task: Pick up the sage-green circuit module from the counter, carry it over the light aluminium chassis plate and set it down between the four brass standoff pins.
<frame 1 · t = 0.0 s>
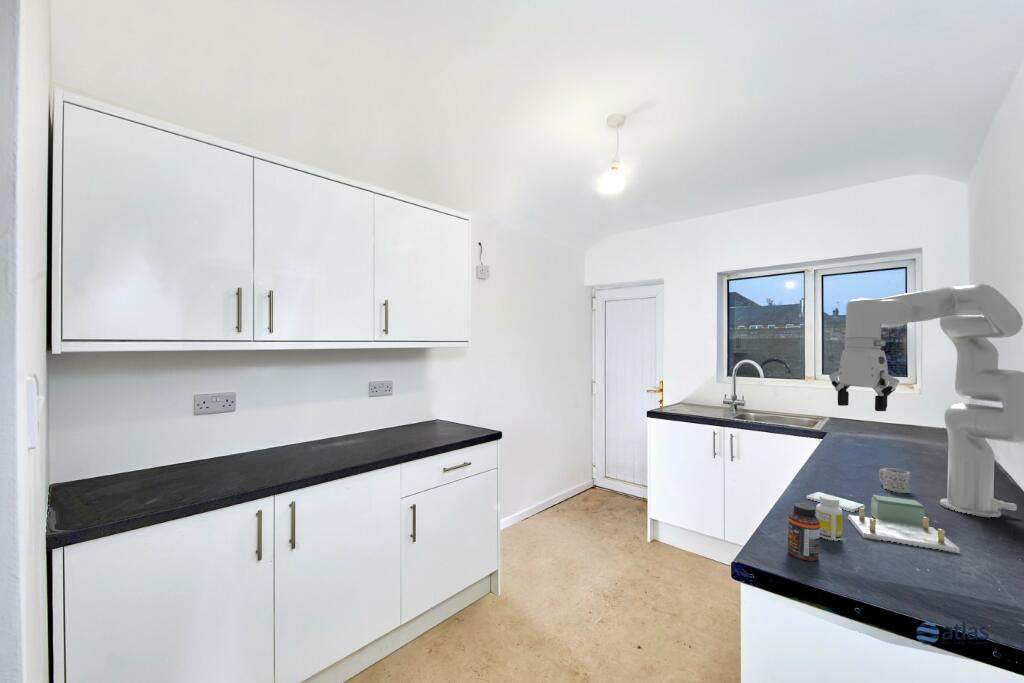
hand: (861, 408, 118), 31 cm above the table, tool pointing down, fingers open, 9 cm apart
mug: (891, 489, 149), on the table
module: (896, 521, 120), on the table
chassis: (899, 534, 111), on the table
supplement bottle: (802, 556, 99), on the table
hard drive: (834, 505, 133), on the table
supplement bottle 2: (828, 537, 109), on the table
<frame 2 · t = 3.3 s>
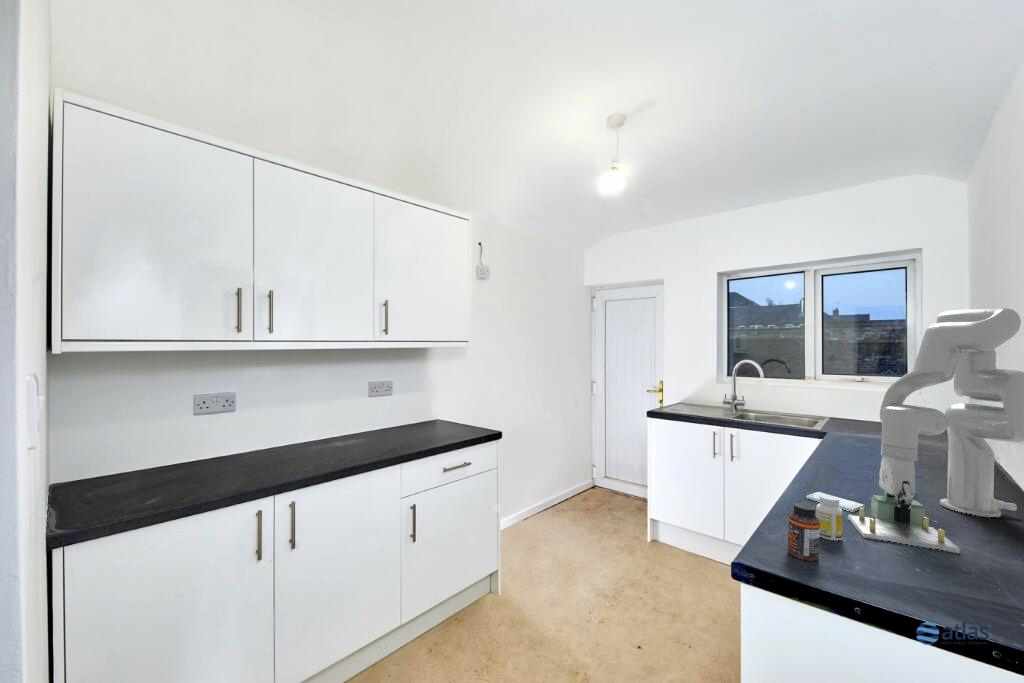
hand: (896, 517, 120), 1 cm above the table, tool pointing down, fingers open, 6 cm apart
module: (896, 522, 120), on the table, touching gripper
everything else where it was.
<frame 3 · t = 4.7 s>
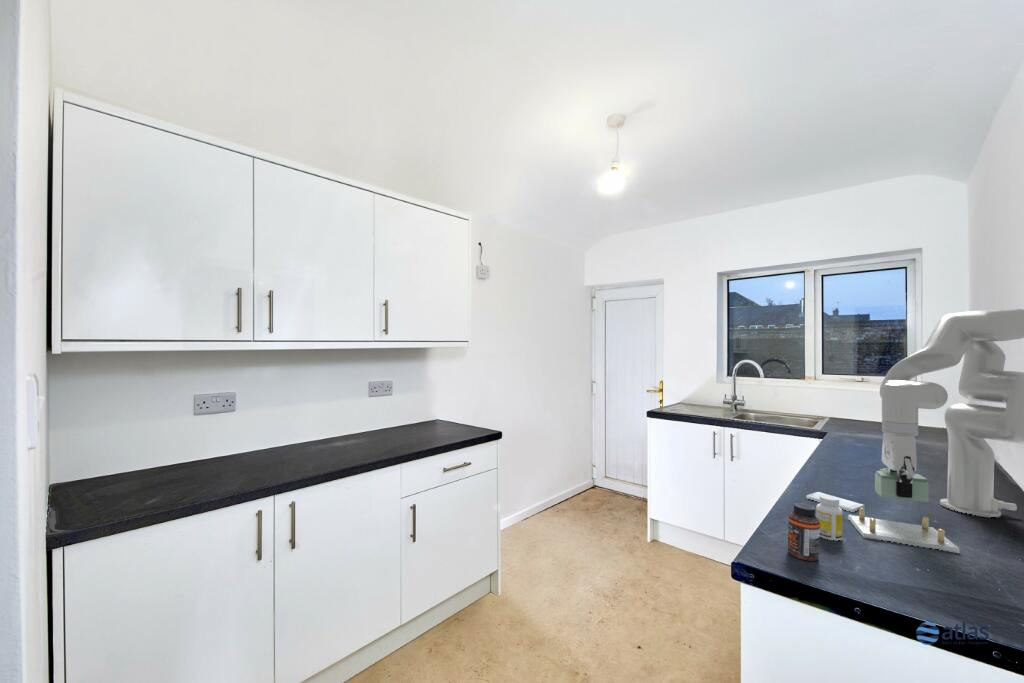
hand: (899, 492, 121), 8 cm above the table, tool pointing down, fingers closed on module, 5 cm apart
module: (901, 496, 121), point 7 cm above the table, touching gripper
everything else where it was.
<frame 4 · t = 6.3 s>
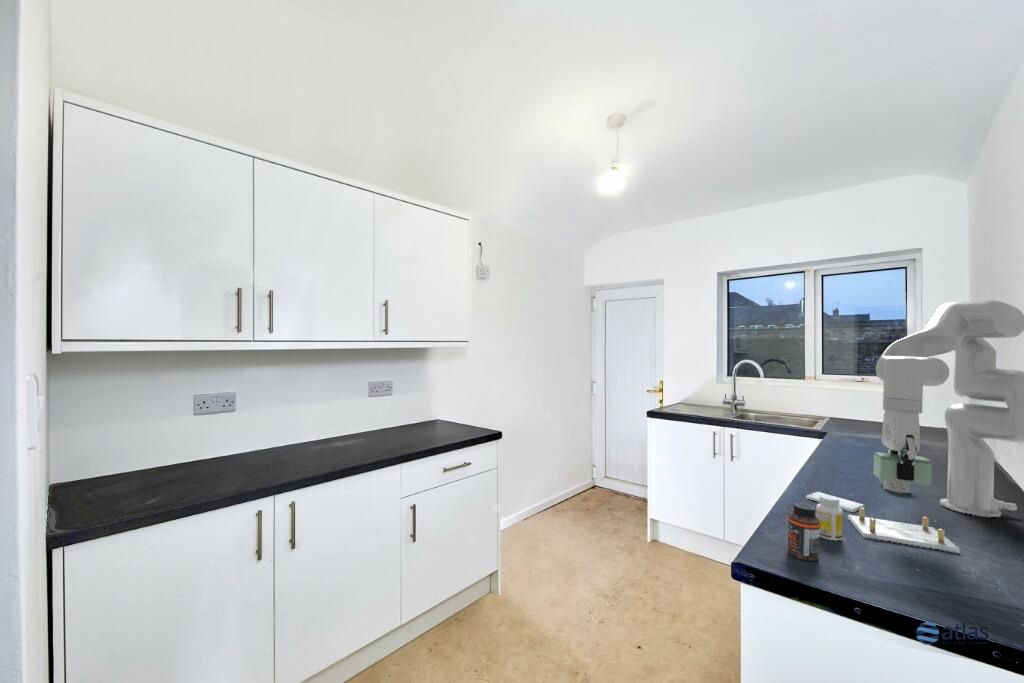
hand: (900, 475, 112), 15 cm above the table, tool pointing down, fingers closed on module, 5 cm apart
module: (901, 479, 111), point 14 cm above the table, touching gripper
everything else where it was.
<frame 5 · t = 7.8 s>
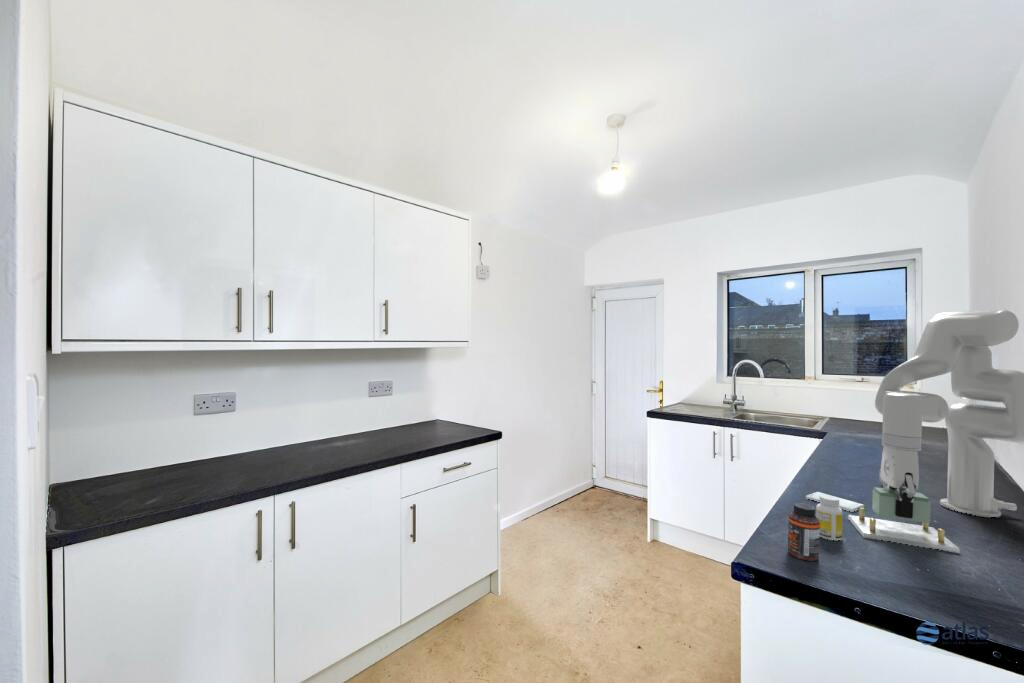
hand: (899, 512, 111), 6 cm above the table, tool pointing down, fingers closed on module, 5 cm apart
module: (900, 516, 111), point 5 cm above the table, touching gripper
everything else where it was.
when the fingers open (3 cm above the table, at t = 9.2 s): module stays where it is, resting on chassis.
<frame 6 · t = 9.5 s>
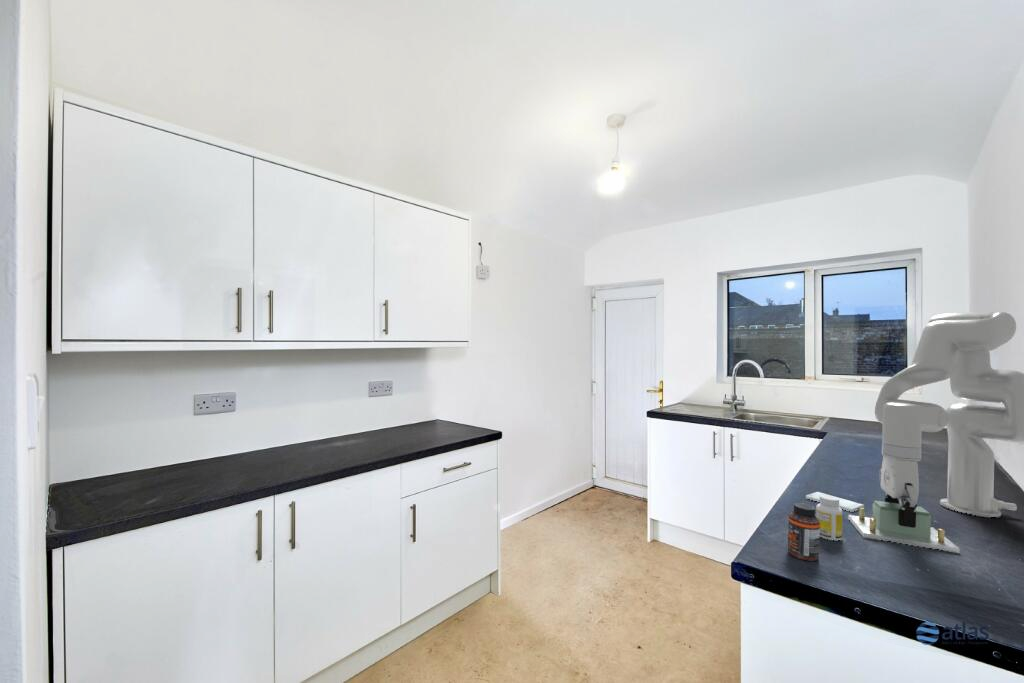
hand: (899, 519, 111), 4 cm above the table, tool pointing down, fingers open, 8 cm apart
module: (900, 530, 111), point 1 cm above the table, touching chassis
everything else where it was.
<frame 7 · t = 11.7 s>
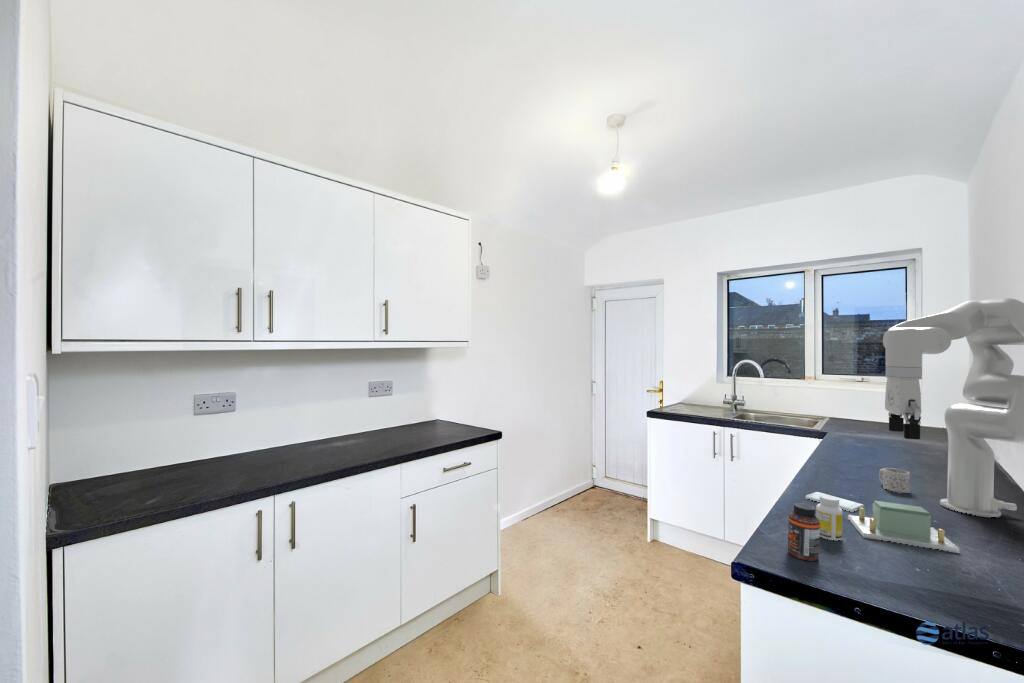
hand: (903, 434, 121), 24 cm above the table, tool pointing down, fingers open, 9 cm apart
nothing on the table moved.
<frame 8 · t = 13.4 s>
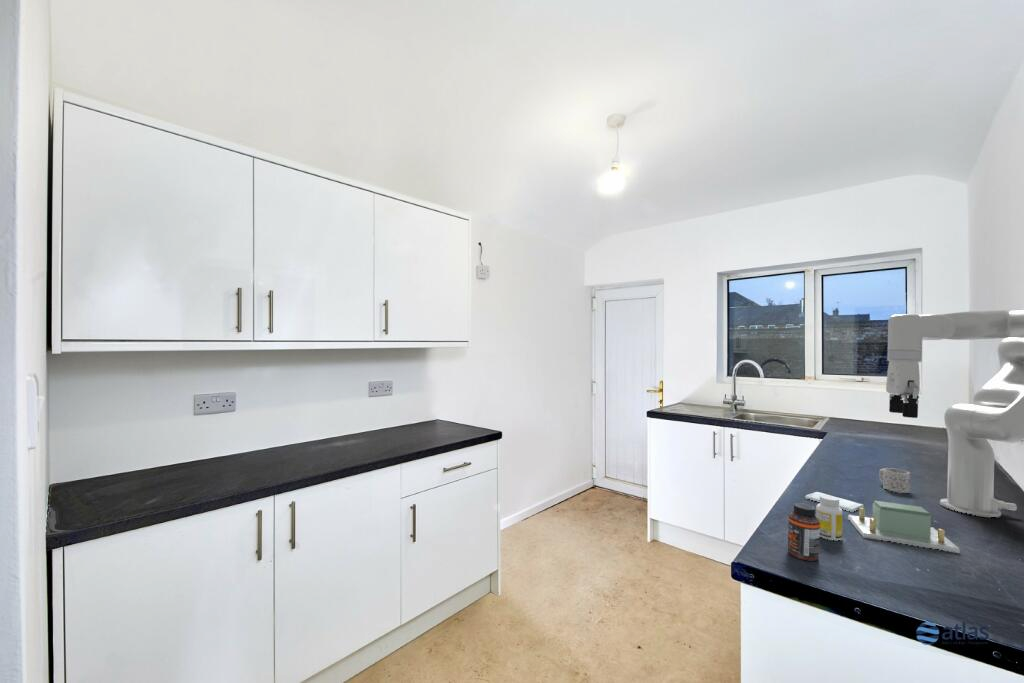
hand: (902, 414, 128), 28 cm above the table, tool pointing down, fingers open, 9 cm apart
nothing on the table moved.
at the end: module 0.3 cm off-centre on the chassis, point 1.2 cm above the chassis's base; module tilted 0°; the gripper is holding nothing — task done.
